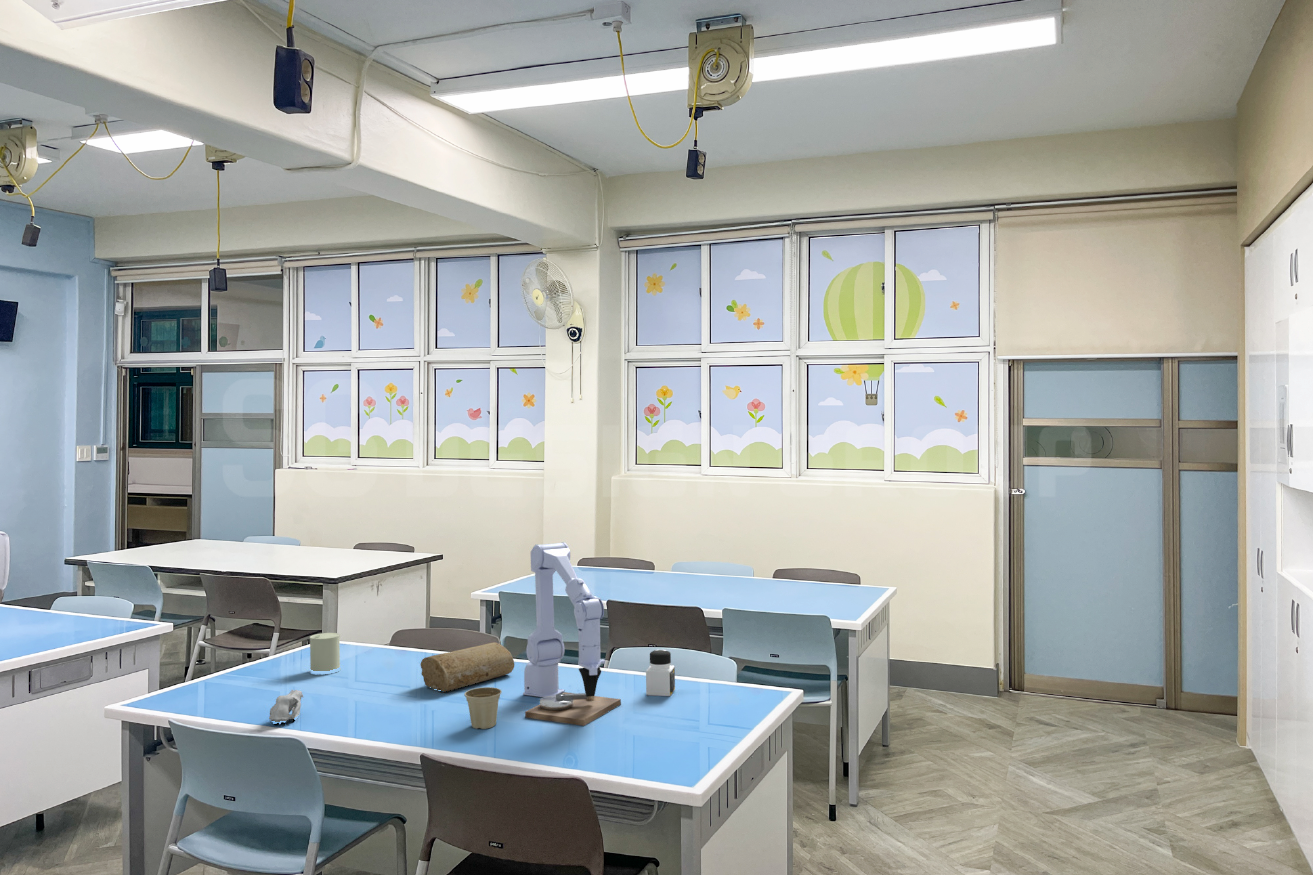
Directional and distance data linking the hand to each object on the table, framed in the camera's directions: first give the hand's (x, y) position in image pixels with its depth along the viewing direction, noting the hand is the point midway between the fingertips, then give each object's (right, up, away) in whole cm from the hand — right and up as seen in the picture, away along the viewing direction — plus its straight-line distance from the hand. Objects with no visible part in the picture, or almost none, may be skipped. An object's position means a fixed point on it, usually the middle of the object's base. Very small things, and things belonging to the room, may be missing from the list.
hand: (590, 695), depth 241 cm
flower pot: (-27, -6, -7) cm, 28 cm away
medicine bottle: (+19, -5, +21) cm, 29 cm away
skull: (-80, -7, 0) cm, 81 cm away
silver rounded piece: (-6, -4, +4) cm, 9 cm away
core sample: (-40, -7, +37) cm, 55 cm away
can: (-89, -7, +51) cm, 103 cm away
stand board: (-5, -5, +5) cm, 9 cm away
